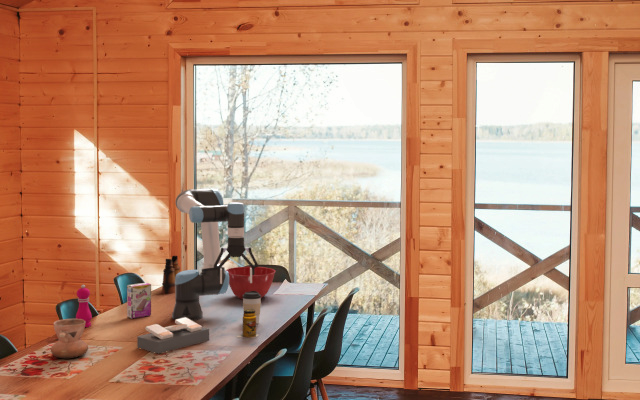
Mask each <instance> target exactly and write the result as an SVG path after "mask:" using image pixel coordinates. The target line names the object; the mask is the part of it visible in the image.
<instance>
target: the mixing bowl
mask: <svg viewBox="0 0 640 400" xmlns="http://www.w3.org/2000/svg"><path fill="white" fill-rule="evenodd" d="M250 268H252V267H251V266H237V267H235V266H234V267H230V268H227V269H225V270H226V271H228V273H229V287H230V290H231V291H232V294H234V296H235V297H237V298H238V299H240V300H243V298H242V297H243V295H244V294H245V292H250V291H256V292H258V293H259V294H260V295H261V299H262V298H263V297H265V296H266V295H267V294H268V293H269V290H270V289H271V286H272V284H273V280H274V278H275V273H276V270H275V269H274V268H269V267H264V266H258V267H256V268H255V269H254V275H252V283H250Z"/></svg>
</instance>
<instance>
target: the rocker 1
mask: <svg viewBox="0 0 640 400" xmlns="http://www.w3.org/2000/svg"><path fill="white" fill-rule="evenodd" d="M144 330H145V331H147V332H149V334H150V333H152V336H157V337H158V338H160V339H161V340H162V339H166V338H170V337H173V333H171V332H170V331H168V330H166V329H165V328H164V327H163V326H161V325H160V324H158V323H155V324H151V325H147V326H145V329H144Z"/></svg>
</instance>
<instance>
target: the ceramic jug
mask: <svg viewBox="0 0 640 400" xmlns="http://www.w3.org/2000/svg"><path fill="white" fill-rule="evenodd" d="M85 323H86V322H85V321H84V320H82V319H76V318H65V319H59V320H56V321H54V322H53V328H54V332H55V335H56V337H57V339H58V340H57V341H56V342H54V343H53V344H52V346H51V347H50V352H51V354H52V355H53V356H54V357H56V358H59V359H75V358H78V356H79V357H81V356H83V355H85V354H86V353H87V352H88V351H89V345H88V343H87V342H85V341H84V340H83V339H81V337H82V335H83V333H84V330H85V328H84V327H85ZM74 357H75V358H74Z"/></svg>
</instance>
